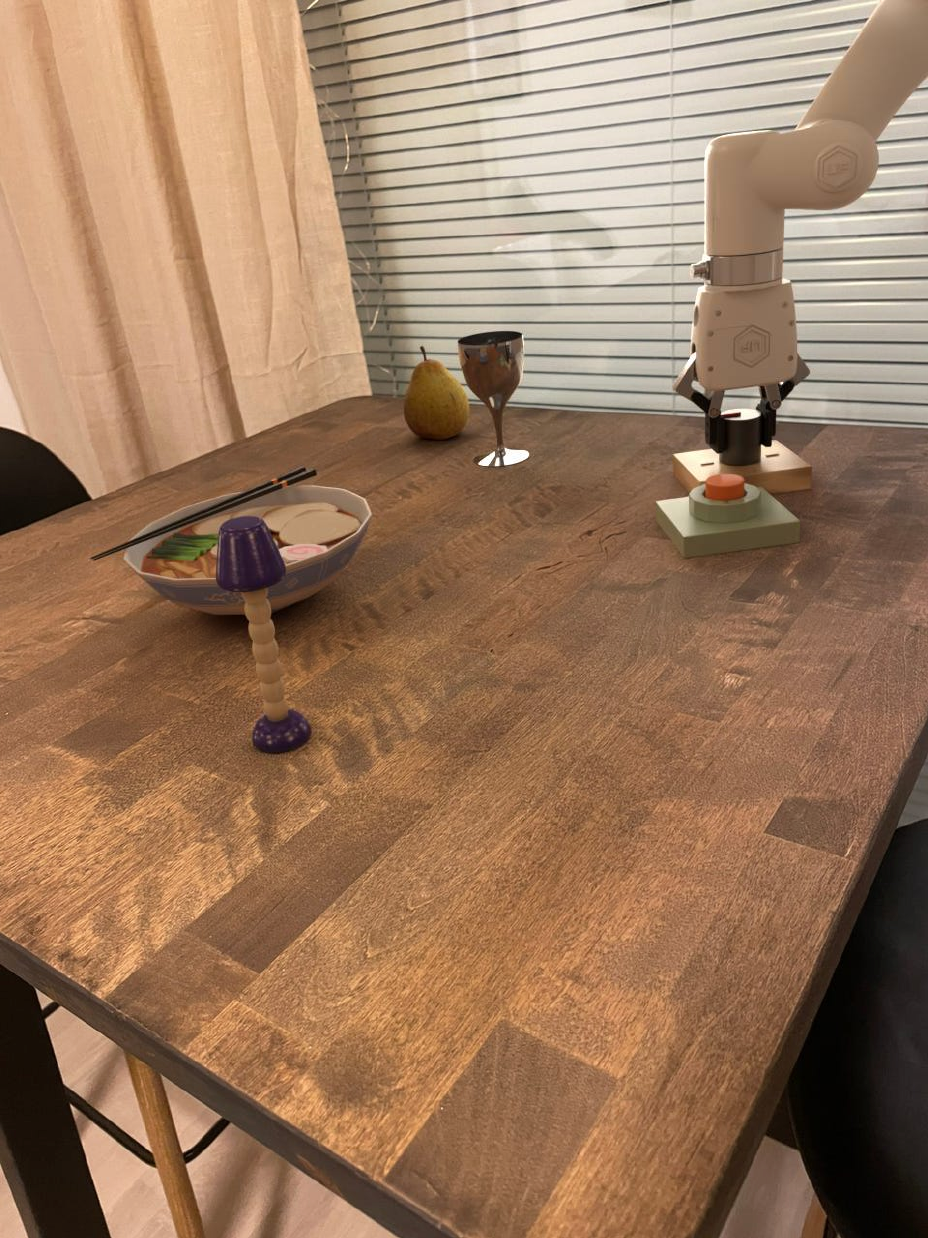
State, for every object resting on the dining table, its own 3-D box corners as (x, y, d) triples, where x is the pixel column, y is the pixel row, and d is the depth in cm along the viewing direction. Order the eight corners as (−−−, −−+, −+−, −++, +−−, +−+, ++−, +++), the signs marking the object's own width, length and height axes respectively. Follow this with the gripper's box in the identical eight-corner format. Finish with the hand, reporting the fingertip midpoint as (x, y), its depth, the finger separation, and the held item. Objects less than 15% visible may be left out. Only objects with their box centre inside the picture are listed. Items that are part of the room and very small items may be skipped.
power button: (736, 488, 95) (737, 471, 94) (749, 500, 92) (750, 483, 91) (700, 493, 95) (700, 476, 94) (712, 505, 92) (712, 488, 91)
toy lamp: (297, 711, 73) (252, 504, 66) (332, 733, 70) (288, 518, 63) (242, 739, 71) (188, 527, 63) (275, 763, 68) (223, 542, 60)
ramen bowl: (221, 690, 78) (197, 599, 74) (89, 621, 93) (63, 542, 89) (441, 576, 93) (430, 495, 89) (297, 532, 108) (282, 461, 104)
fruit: (464, 443, 131) (453, 353, 126) (400, 445, 134) (387, 357, 128) (478, 424, 139) (468, 339, 133) (417, 427, 141) (406, 343, 136)
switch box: (761, 506, 99) (762, 469, 98) (799, 542, 91) (801, 502, 89) (655, 521, 99) (654, 484, 97) (683, 558, 90) (683, 518, 88)
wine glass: (529, 465, 120) (519, 342, 113) (466, 469, 121) (452, 347, 114) (535, 445, 127) (526, 328, 120) (475, 449, 128) (462, 333, 121)
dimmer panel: (775, 460, 111) (776, 438, 110) (811, 488, 102) (812, 464, 101) (672, 474, 111) (672, 452, 110) (699, 504, 102) (699, 480, 101)
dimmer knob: (752, 450, 108) (753, 403, 105) (766, 462, 104) (768, 413, 101) (713, 456, 107) (713, 409, 105) (726, 468, 103) (727, 419, 101)
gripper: (670, 285, 93) (672, 467, 101) (842, 263, 94) (831, 446, 102) (650, 275, 100) (653, 447, 108) (810, 255, 100) (802, 427, 108)
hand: (740, 445), depth 105 cm, fingers closed on dimmer knob, 4 cm apart
